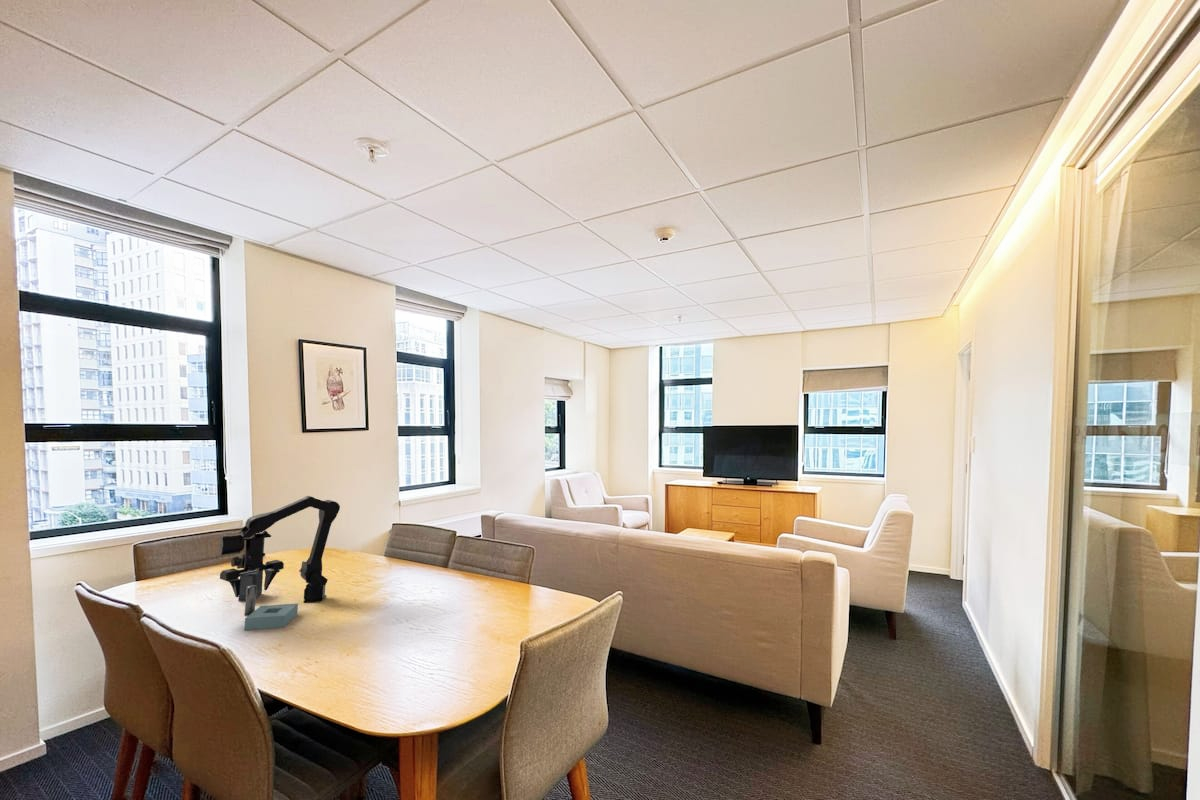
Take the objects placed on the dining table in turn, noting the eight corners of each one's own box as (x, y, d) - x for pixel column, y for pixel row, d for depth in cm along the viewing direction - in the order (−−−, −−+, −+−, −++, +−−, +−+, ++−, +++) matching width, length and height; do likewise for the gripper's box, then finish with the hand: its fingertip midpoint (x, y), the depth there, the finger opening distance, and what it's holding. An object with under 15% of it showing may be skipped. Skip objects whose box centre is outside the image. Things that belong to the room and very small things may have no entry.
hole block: (297, 614, 174) (298, 603, 174) (284, 627, 162) (285, 615, 163) (260, 617, 171) (261, 605, 171) (244, 630, 159) (245, 618, 160)
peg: (256, 612, 175) (258, 584, 176) (252, 615, 172) (254, 587, 173) (246, 612, 175) (248, 585, 175) (242, 615, 172) (245, 587, 172)
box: (246, 594, 194) (248, 568, 195) (262, 593, 195) (263, 567, 196) (237, 601, 186) (239, 574, 187) (254, 600, 188) (256, 573, 189)
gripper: (271, 543, 187) (268, 583, 186) (214, 552, 171) (211, 596, 170) (285, 546, 182) (283, 588, 181) (228, 557, 166) (225, 602, 165)
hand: (251, 593), depth 174 cm, fingers open, 9 cm apart
